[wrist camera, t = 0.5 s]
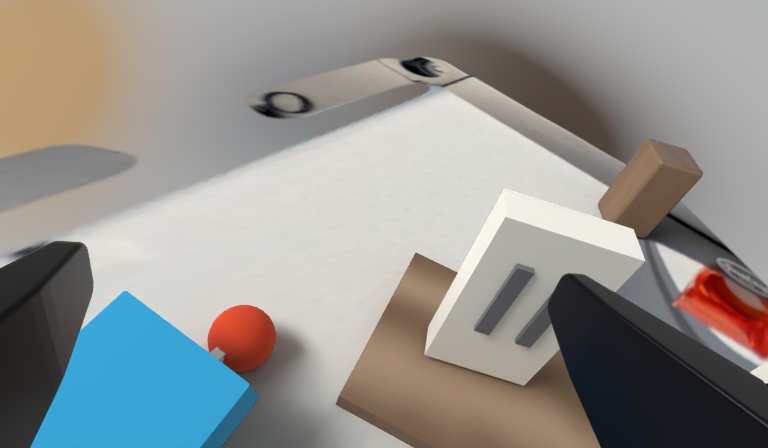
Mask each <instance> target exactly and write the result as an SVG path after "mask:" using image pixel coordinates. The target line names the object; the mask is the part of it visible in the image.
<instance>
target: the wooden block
mask: <svg viewBox="0 0 768 448" xmlns="http://www.w3.org/2000/svg"><path fill="white" fill-rule="evenodd" d="M702 175H703V172H702V171H701V169H700V168H699V166H698V165H697V163H696V162H695V161H694V159H693V158H692V156H691V155H690V154H689V152H688V151H687V150H686V149H682V148H679V147H676V146H673V145H669V144H666V143H662V142H659V141H656V140H653V139H647V140H646V141H645V142H644V143H643V144H642V146H641V147H640V148H639V150H638V151H637V152H636V153H635V155H634V156H633V157H632V159H631V160H630V162H629V163H628V164H627V165H626V167H625V168H624V169H623V170H622V172H621V173H620V174H619V176H618V177H617V178H616V180H615V181H614V182H613V184H612V185H611V186H610V188H609V189H608V190H607V192H606V193H605V194H604V195H603V197H602V198H601V199H600V201H599V203H598V206H599V209H600V211H601V214H602V217H603V220H606V221H609V222H613V223H616V224H619V225H622V226H625V227H628V228H631V229H634V232H635V234H636V237H639V238H645V237H647V235H648V234H649V233H650V232H651V231H652V230H653V229H654V228H655V227H656V226H657V225H658V224H659V223H660V221H661V220H662V219H663V218H664V217H665V216H666V215H667V214H668V213H669V212H670V211H671V210H672V208H673V207H674V206H675V205H676V204H677V203H678V202H679V201H680V200H681V199H682V198H683V197H684V195H685V194H686V193H687V192H688V191H689V190H690V189H691V188H692V187H693V186H694V185H695V184H696V183H697V181H698V180H699V179H700V178H701V177H702Z"/></svg>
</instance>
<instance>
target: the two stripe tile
mask: <svg viewBox="0 0 768 448" xmlns="http://www.w3.org/2000/svg"><path fill="white" fill-rule="evenodd" d="M644 262H645V259H644V256H643V254H642V251H641V248H640V245H639V243H638V240H637V237H636V234H635V232H634V229H631V228H628V227H625V226H622V225H619V224H616V223H613V222H609V221H606V220H603V219H600V218H597V217H594V216H591V215H587V214H584V213H581V212H578V211H575V210H572V209H569V208H566V207H562V206H559V205H556V204H553V203H550V202H547V201H544V200H540V199H537V198H534V197H531V196H528V195H525V194H522V193H519V192H515V191H512V190H509V189H506V188H504V190H503V192H502V194H501V196H500V197H499V199H498V201H497V203H496V205H495V207H494V208H493V210H492V212H491V214H490V216H489V217H488V219H487V221H486V223H485V225H484V226H483V228H482V230H481V232H480V234H479V236H478V237H477V239H476V241H475V243H474V245H473V246H472V248H471V250H470V252H469V254H468V255H467V257H466V259H465V261H464V263H463V265H462V266H461V268H460V270H459V272H458V274H457V275H456V277H455V279H454V281H453V283H452V284H451V286H450V288H449V290H448V292H447V294H446V295H445V297H444V299H443V301H442V303H441V304H440V306H439V308H438V310H437V312H436V313H435V315H434V317H433V319H432V321H431V323H430V324H429V326H428V332H427V340H426V347H425V354H424V355H426V356H429V357H433V358H436V359H439V360H442V361H445V362H449V363H452V364H455V365H458V366H462V367H465V368H468V369H471V370H474V371H478V372H481V373H484V374H487V375H491V376H494V377H497V378H500V379H504V380H507V381H510V382H513V383H516V384H520V385H523V386H524V385H525V384H526V383H527V382H528V381H529V380H530V379H531V378H532V377H533V376H534V375H535V374H536V373H537V372H538V371H539V370H540V369H541V368H542V367H543V366H544V365H545V364H546V363H547V362H548V361H549V360H550V359H551V357H552V356H553V355H554V354H555V353H556V352H557V351H558V350H559V349H560V348H559V345H558V342H557V339H556V336H555V333H554V330H553V327H552V324H551V321H550V318H549V315H548V311H547V304H548V301H549V298H550V297H551V295H552V293H553V291H554V289H555V287H556V286H557V284H558V282H559V280H560V278H561V277H562V276H563V275H564V274H567V273H575V274H584V275H586V276H588V277H590V278H591V279H593V280H595V281H596V282H598V283H600V284H601V285H603V286H605V287H606V288H608V289H610V290H611V291H613V292H616V291H617V290H618V289H619V288H620V287H621V286H622V285H623V283H624V282H625V281H626V280H627V279H628V278H629V277H630V276H631V275H632V274H633V273H634V272H635V271H636V270H637V269H638V268H639V267H640V266H641V265H642V264H643V263H644Z"/></svg>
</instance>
